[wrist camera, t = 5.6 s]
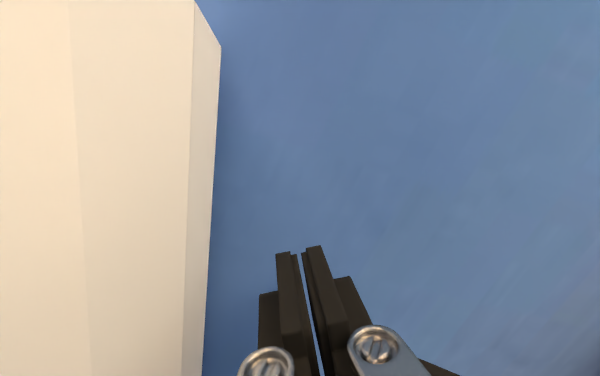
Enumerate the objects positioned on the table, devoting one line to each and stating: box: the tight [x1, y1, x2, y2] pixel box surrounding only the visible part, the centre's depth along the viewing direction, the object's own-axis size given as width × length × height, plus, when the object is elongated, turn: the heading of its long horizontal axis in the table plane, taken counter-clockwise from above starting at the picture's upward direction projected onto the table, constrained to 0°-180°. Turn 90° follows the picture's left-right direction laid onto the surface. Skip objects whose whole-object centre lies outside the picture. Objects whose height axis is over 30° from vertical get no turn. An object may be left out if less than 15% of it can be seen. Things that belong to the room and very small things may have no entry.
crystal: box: [0, 0, 221, 376], centre depth 11 cm, size 7×7×24 cm
